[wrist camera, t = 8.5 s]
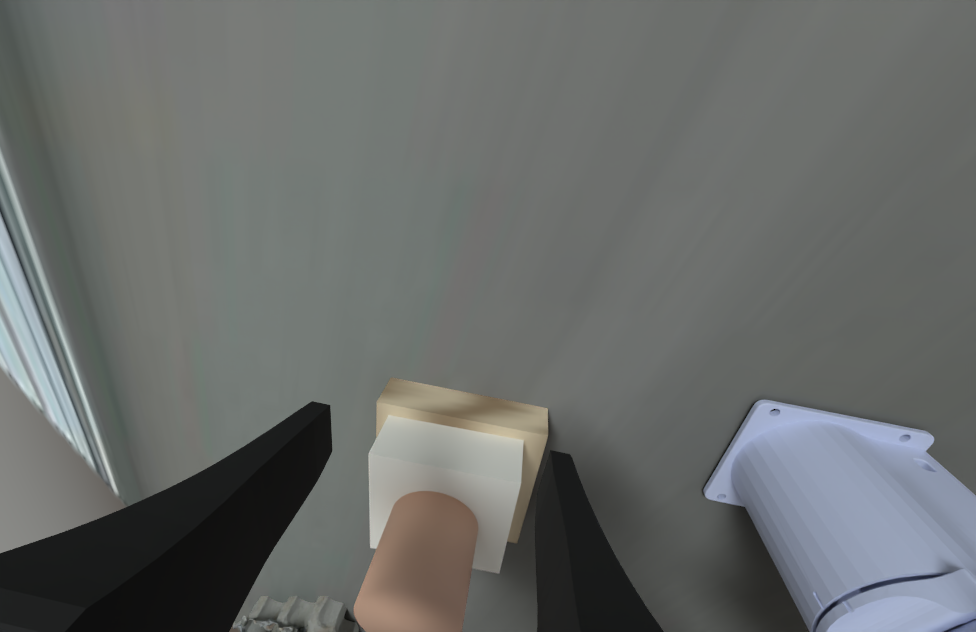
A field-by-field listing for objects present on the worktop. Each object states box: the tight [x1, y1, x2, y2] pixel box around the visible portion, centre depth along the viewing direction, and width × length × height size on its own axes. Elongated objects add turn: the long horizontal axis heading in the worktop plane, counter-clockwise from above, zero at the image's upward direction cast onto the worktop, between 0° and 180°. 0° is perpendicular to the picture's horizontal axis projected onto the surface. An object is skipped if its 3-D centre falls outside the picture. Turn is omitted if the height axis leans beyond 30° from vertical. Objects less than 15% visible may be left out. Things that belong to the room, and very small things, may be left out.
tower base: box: [376, 378, 548, 543], centre depth 26 cm, size 10×10×3 cm
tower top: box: [369, 415, 524, 574], centre depth 23 cm, size 8×8×3 cm
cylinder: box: [354, 491, 478, 632], centre depth 20 cm, size 5×5×5 cm
